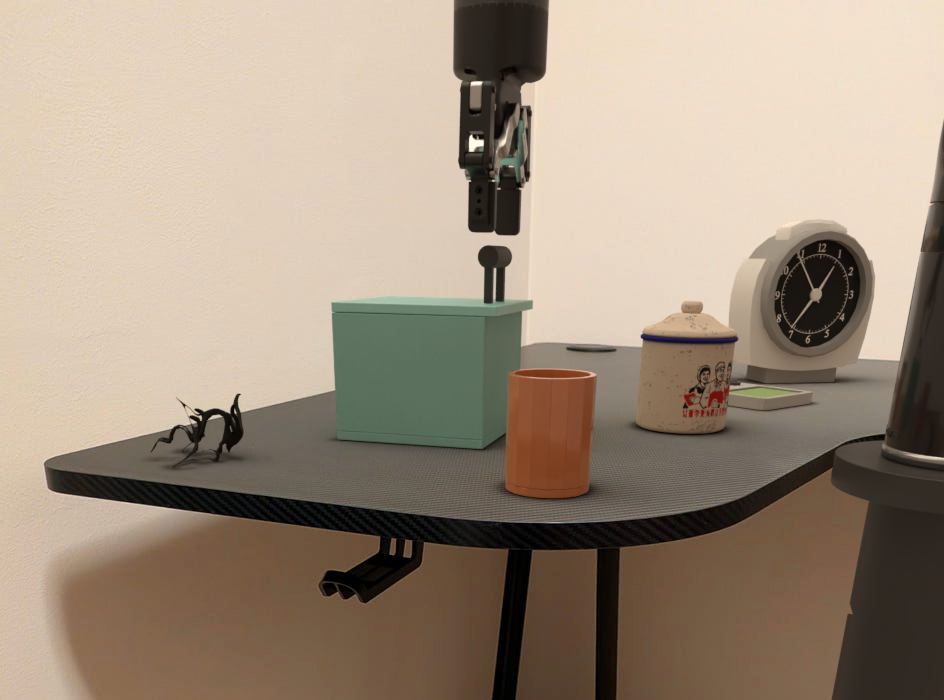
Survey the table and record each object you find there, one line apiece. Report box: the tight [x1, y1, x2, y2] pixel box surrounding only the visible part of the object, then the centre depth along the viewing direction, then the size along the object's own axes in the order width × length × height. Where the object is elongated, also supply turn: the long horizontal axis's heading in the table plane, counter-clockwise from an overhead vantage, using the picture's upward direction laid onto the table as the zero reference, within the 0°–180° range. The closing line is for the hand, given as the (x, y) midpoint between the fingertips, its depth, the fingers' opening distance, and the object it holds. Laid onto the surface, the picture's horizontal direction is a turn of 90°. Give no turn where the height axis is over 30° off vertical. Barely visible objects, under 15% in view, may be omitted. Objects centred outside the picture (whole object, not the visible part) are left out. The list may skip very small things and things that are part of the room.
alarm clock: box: [728, 218, 876, 384], centre depth 122 cm, size 18×8×20 cm, turn 104°
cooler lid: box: [330, 244, 534, 317], centre depth 81 cm, size 15×14×5 cm
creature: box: [150, 393, 244, 468], centre depth 73 cm, size 8×5×8 cm
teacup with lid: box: [635, 300, 738, 435], centre depth 88 cm, size 12×9×12 cm
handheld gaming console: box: [728, 379, 814, 411], centre depth 108 cm, size 10×2×15 cm
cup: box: [504, 368, 598, 499], centre depth 64 cm, size 6×6×8 cm
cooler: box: [331, 311, 523, 450], centre depth 84 cm, size 14×14×11 cm
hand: (495, 234), depth 78 cm, fingers open, 8 cm apart
